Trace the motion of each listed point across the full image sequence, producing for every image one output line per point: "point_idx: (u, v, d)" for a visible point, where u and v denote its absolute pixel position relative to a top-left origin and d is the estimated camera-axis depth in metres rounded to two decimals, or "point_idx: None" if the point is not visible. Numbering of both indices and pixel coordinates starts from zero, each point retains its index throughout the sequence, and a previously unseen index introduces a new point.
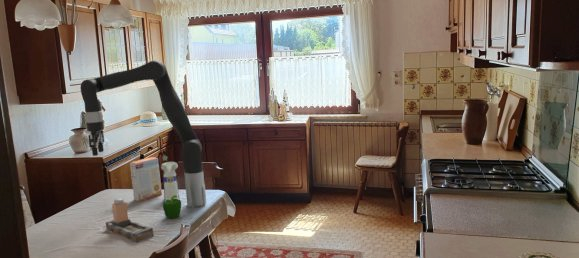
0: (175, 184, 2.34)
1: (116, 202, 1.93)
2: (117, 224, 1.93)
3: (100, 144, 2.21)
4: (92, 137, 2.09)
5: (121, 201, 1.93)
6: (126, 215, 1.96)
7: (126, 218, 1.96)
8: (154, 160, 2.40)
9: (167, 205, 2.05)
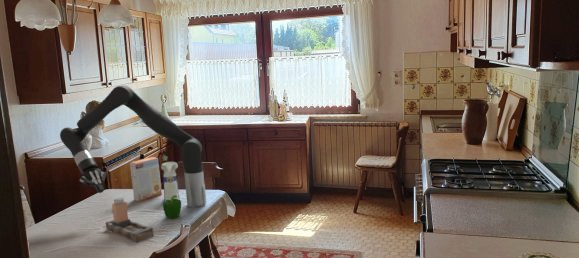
0: (175, 184, 2.34)
1: (116, 202, 1.93)
2: (117, 224, 1.93)
3: None
4: (82, 180, 2.02)
5: (121, 201, 1.93)
6: (126, 215, 1.96)
7: (126, 218, 1.96)
8: (154, 160, 2.40)
9: (167, 205, 2.05)
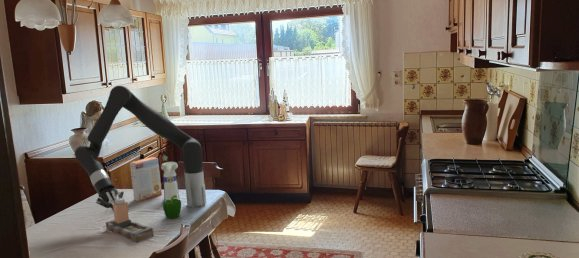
0: (175, 184, 2.34)
1: (117, 202, 1.92)
2: (118, 224, 1.92)
3: None
4: (99, 201, 1.95)
5: (122, 201, 1.93)
6: (127, 215, 1.96)
7: (127, 218, 1.96)
8: (154, 160, 2.40)
9: (167, 205, 2.05)
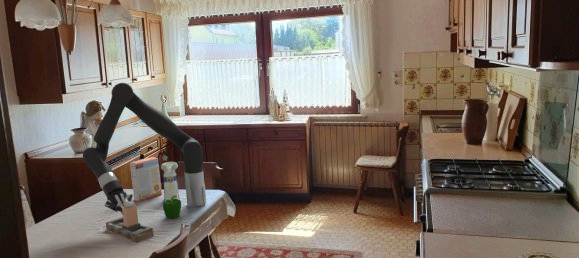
0: (175, 184, 2.34)
1: (126, 205, 1.87)
2: (127, 228, 1.88)
3: None
4: (107, 204, 1.90)
5: (131, 204, 1.88)
6: (136, 219, 1.91)
7: (136, 222, 1.91)
8: (154, 160, 2.40)
9: (167, 205, 2.05)
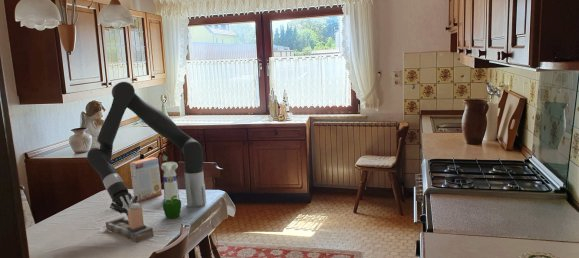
0: (175, 184, 2.34)
1: (132, 207, 1.85)
2: (133, 230, 1.85)
3: None
4: (113, 206, 1.87)
5: (137, 206, 1.85)
6: (142, 221, 1.88)
7: (142, 224, 1.88)
8: (154, 160, 2.40)
9: (167, 205, 2.05)
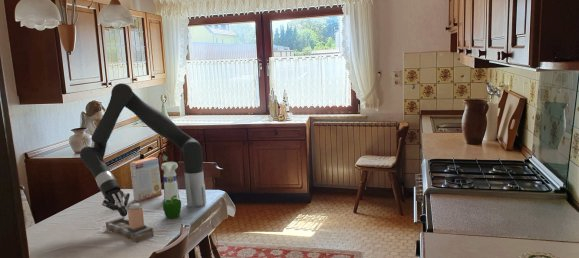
0: (175, 184, 2.34)
1: (132, 207, 1.85)
2: (133, 230, 1.85)
3: None
4: (105, 203, 1.91)
5: (137, 206, 1.85)
6: (142, 221, 1.88)
7: (142, 224, 1.88)
8: (154, 160, 2.40)
9: (167, 205, 2.05)
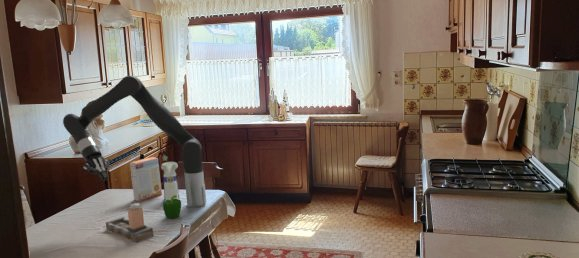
0: (175, 184, 2.34)
1: (132, 207, 1.85)
2: (133, 230, 1.85)
3: None
4: (86, 167, 1.97)
5: (137, 206, 1.85)
6: (142, 221, 1.88)
7: (142, 224, 1.88)
8: (154, 160, 2.40)
9: (167, 205, 2.05)
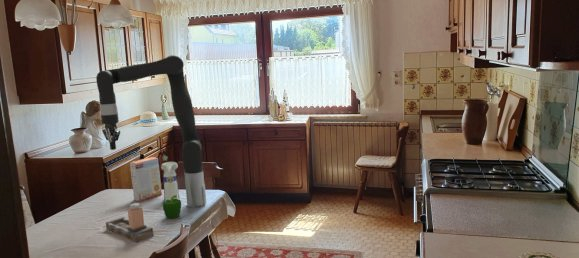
0: (175, 184, 2.34)
1: (132, 207, 1.85)
2: (133, 230, 1.85)
3: None
4: (118, 133, 2.08)
5: (137, 206, 1.85)
6: (142, 221, 1.88)
7: (142, 224, 1.88)
8: (154, 160, 2.40)
9: (167, 205, 2.05)
